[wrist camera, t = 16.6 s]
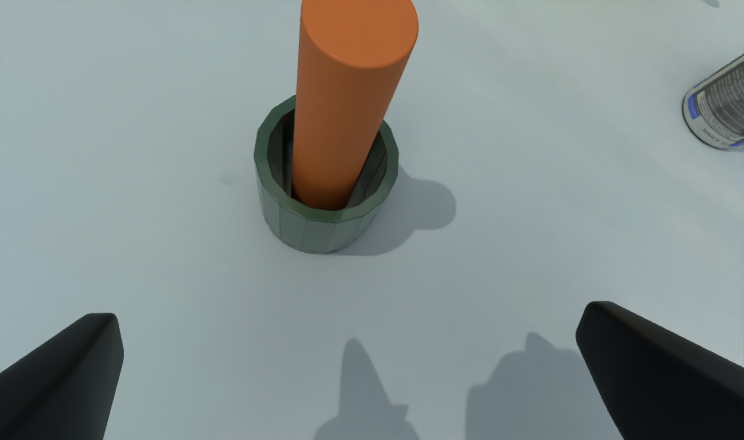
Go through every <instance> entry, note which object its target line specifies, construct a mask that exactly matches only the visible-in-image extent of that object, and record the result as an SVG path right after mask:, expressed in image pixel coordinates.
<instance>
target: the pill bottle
mask: <svg viewBox="0 0 744 440" xmlns="http://www.w3.org/2000/svg"><path fill="white" fill-rule="evenodd" d="M683 110H684V116H685V119H686V121H687V123H688V125H689V126H690V128H691V130H692V131H693V132H694V133H695V134H696V135H697V136H698V137H699V138H700V139H702V140H703V141H705V142H706V143H708V144H710V145H712V146H714V147H717V148H723V149H728V148H733V147H736V146H739V145H741V144H744V54H743V55H741V56H740V57H738V58H737V59H735V60H733V61H732V62H730V63H729V64H727V65H726V66H724V67H723V68H721V69H720V70H718V71H717V72H715V73H714V74H712V75H710V76H709V77H708V78H706V79H704V80H703V81H701V82H700V83H698V84H697V85H696V86H694V87H693V88H692V89H691V90H690V91H689V92H688V93H687V95H686V97H685V99H684V105H683Z"/></svg>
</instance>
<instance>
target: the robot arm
mask: <svg viewBox="0 0 744 440" xmlns="http://www.w3.org/2000/svg"><path fill="white" fill-rule="evenodd" d="M576 342H577V345H578V347H579V349H580V351H581V354H582V356H583V358H584V360H585V362H586V365H587V367H588V369H589V371H590V373H591V376H592V378H593V380H594V382H595V384H596V387H597V389H598V391H599V393H600V395H601V398H602V400H603V402H604V404H605V406H606V408H607V410H608V412H609V414H610V416H611V418H612V419H613V421H614V423H615V425H616V427H617V428H618V430H619V432H620V434H621V435H622V437H623V439H624V440H744V368H743V367H741V366H739V365H737V364H735V363H733V362H731V361H729V360H727V359H725V358H723V357H721V356H719V355H717V354H715V353H713V352H711V351H709V350H707V349H705V348H703V347H701V346H699V345H697V344H695V343H693V342H691V341H689V340H687V339H685V338H683V337H681V336H679V335H677V334H675V333H673V332H671V331H669V330H667V329H665V328H663V327H661V326H659V325H657V324H655V323H653V322H651V321H649V320H647V319H645V318H643V317H641V316H639V315H637V314H635V313H633V312H631V311H629V310H627V309H625V308H623V307H621V306H619V305H617V304H615V303H613V302H609V301H593V302H590V303H589V304H588V305H587V306H586V308H585V310H584V313H583V315H582V318H581V320H580V323H579V325H578V328H577V330H576ZM123 359H124V349H123V344H122V339H121V334H120V329H119V324H118V319H117V317H116V315H114V314H113V313H90V314H86V315H85V316H83V317H81V318H80V319H79V320H77V321H76V322H74V323H73V324H71V325H70V326H68V327H67V328H65V329H64V330H62V331H61V332H60V333H58V334H57V335H55V336H54V337H52V338H51V339H49V340H48V341H46V342H45V343H43V344H42V345H41V346H39V347H38V348H36V349H35V350H33V351H32V352H30V353H29V354H27V355H26V356H24V357H23V358H22V359H20V360H19V361H17V362H16V363H14V364H13V365H11V366H10V367H8V368H7V369H5V370H4V371H3V372H1V373H0V440H103V437H104V433H105V430H106V426H107V422H108V418H109V414H110V410H111V407H112V403H113V399H114V395H115V391H116V387H117V384H118V380H119V376H120V372H121V368H122V364H123Z"/></svg>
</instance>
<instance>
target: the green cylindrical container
mask: <svg viewBox="0 0 744 440" xmlns="http://www.w3.org/2000/svg"><path fill="white" fill-rule="evenodd" d="M295 106H296V95H294V96H292V97H291V98H289V99H287V100H286V101H284V102H282V103H281V104H279V105H278V106H276V107H274V108H273V109H272V110H271V112H270V113H269V114H268V116H267V117H266V119H265V120H264V122H263V123H262V125H261V126H260V128H259V129H258V132H257V137H256V144H255V150H254V163H255V170H256V178H257V185H258V192H259V199H260V203H261V207H262V212H263V215H264V218H265V221H266V222H267V224H268V226H269V228H270V229H271V231H272V232H273V233H274V234H275V235H276V236H277V237H278V238H279V239H280V240H281V241H282V242H284V243H285V244H287V245H288V246H290V247H292V248H294V249H296V250H299V251H302V252H306V253H312V254H324V253H331V252H335V251H338V250H341V249H343V248H345V247H347V246H349V245H350V244H351V243H353V242H354V241H355V240H356V239H357V238H359V236H360V235H362V234H363V233H364V231H365V230H366V228H367V227H368V225H369V224H370V222H371V221H372V219H373V218H374V216H375V215H376V213H377V212H378V210H379V209H380V207H381V206H382V204H383V203H384V201H385V200H386V198H387V196H388V194H389V192H390V190H391V188H392V187H393V185H394V183H395V181H396V179H397V176H398V159H399V152H398V148H397V145H396V142H395V139H394V137H393V134H392V131H391V128H389V125H388V124H387V123H386V122H385V121H384V120H382V123H381V125H380V127H379V130H378V132H377V134H376V137H375V139H374V141H373V144H372V146H371V148H370V151H369V153H368V155H367V158H366V160H365V162H364V165H363V167H362V169H361V172H360V174H359V177H358V179H357V181H356V184H355V186H354V188H353V191H352V193H351V195H350V198H349V200H348V202H347V205H346V207H345V209H341V210H337V211H330V210H322V209H314V208H310V207H308V206H306V205H304V204H302V203H300V202H298V201H297V200H295V199H293V198H291V178H292V160H293V142H294V124H295Z"/></svg>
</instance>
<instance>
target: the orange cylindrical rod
mask: <svg viewBox="0 0 744 440" xmlns="http://www.w3.org/2000/svg"><path fill="white" fill-rule="evenodd" d="M418 29H419V27H418V18H417V13H416V11H415V8H414V6H413V4H412V2H411V0H302V5H301V16H300V34H299V52H298V70H297V88H296V106H295V124H294V142H293V160H292V178H291V198H293V199H295V200H297V201H298V202H300V203H302V204H304V205H306V206H308V207H310V208H314V209H322V210H330V211H337V210H341V209H345V207H346V205H347V202H348V200H349V198H350V195H351V193H352V191H353V188H354V186H355V184H356V181H357V179H358V177H359V174H360V172H361V169H362V167H363V165H364V162H365V160H366V158H367V155H368V153H369V151H370V148H371V146H372V144H373V141H374V139H375V137H376V134H377V132H378V130H379V127H380V125H381V123H382V120H383V118H384V115H385V113H386V111H387V108H388V106H389V104H390V101H391V99H392V97H393V94H394V92H395V90H396V87H397V85H398V83H399V80H400V78H401V76H402V73H403V71H404V69H405V66H406V64H407V62H408V59H409V57H410V54H411V52H412V50H413V47H414V45H415V43H416V40H417V36H418Z"/></svg>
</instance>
